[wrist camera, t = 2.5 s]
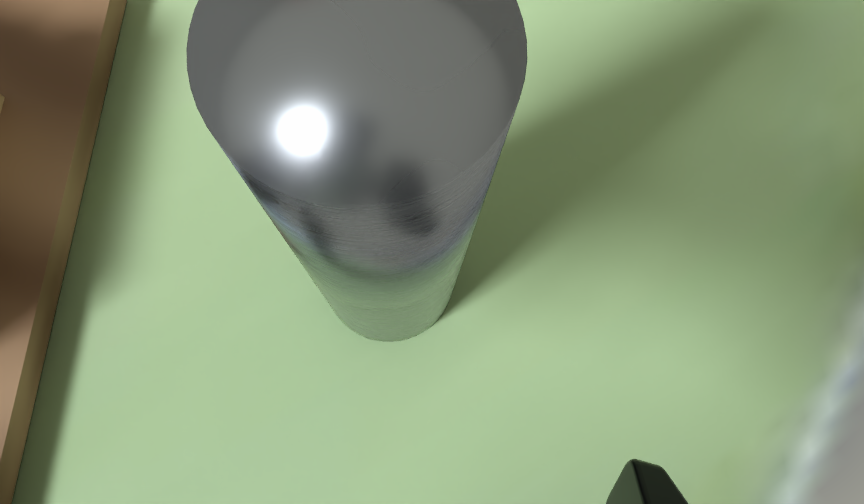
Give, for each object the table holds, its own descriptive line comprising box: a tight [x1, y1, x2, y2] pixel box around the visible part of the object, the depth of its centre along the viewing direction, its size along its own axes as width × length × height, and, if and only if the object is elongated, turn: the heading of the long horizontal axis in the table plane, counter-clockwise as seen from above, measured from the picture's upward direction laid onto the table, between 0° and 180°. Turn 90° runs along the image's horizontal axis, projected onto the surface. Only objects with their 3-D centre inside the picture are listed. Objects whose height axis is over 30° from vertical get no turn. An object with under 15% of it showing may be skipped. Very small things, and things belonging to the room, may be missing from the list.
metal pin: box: [187, 0, 527, 342], centre depth 14 cm, size 4×4×13 cm
